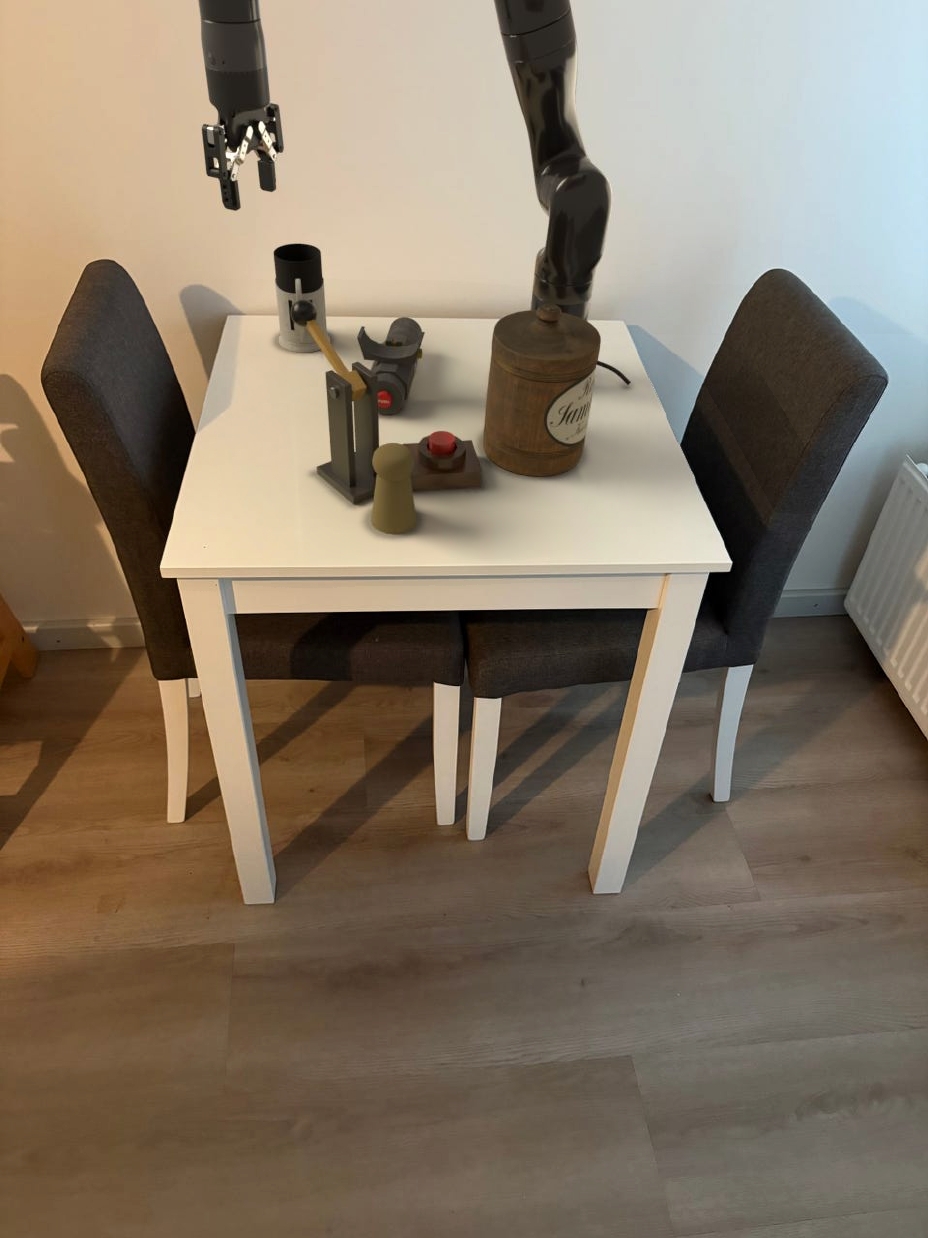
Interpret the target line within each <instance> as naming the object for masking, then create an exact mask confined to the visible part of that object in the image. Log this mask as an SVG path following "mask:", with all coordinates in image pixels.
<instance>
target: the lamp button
mask: <svg viewBox="0 0 928 1238" xmlns="http://www.w3.org/2000/svg"><path fill="white" fill-rule="evenodd" d="M429 435H430V436H429ZM429 435H428V436H429V450H430V452H432V453H434V454H438V455H449V454H451V453H453V452H454V451H455V436H456V435H454V433H452V432H450V431H446V430H437V431H433V432H432V433H431V434H429Z"/></svg>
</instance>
